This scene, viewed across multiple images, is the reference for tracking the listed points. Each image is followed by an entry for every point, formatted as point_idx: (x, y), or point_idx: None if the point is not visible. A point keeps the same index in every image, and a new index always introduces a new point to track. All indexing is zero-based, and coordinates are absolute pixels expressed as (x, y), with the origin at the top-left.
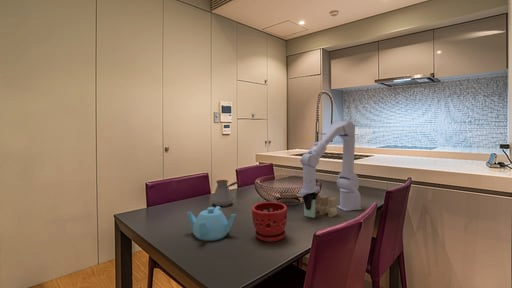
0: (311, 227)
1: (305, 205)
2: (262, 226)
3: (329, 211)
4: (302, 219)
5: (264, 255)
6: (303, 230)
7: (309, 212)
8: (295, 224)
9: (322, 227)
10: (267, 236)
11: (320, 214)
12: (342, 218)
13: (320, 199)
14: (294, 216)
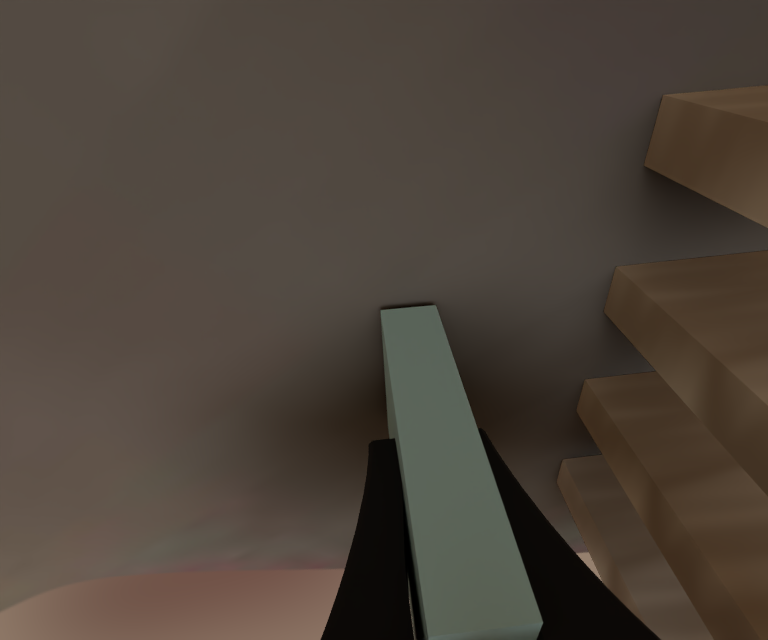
0: (162, 536)
1: (362, 510)
2: None
3: (587, 525)
4: (246, 376)
5: None
6: (36, 545)
7: (391, 436)
8: (38, 433)
9: (253, 565)
10: None
11: (583, 388)
12: (577, 531)
13: (732, 616)
14: (233, 221)
